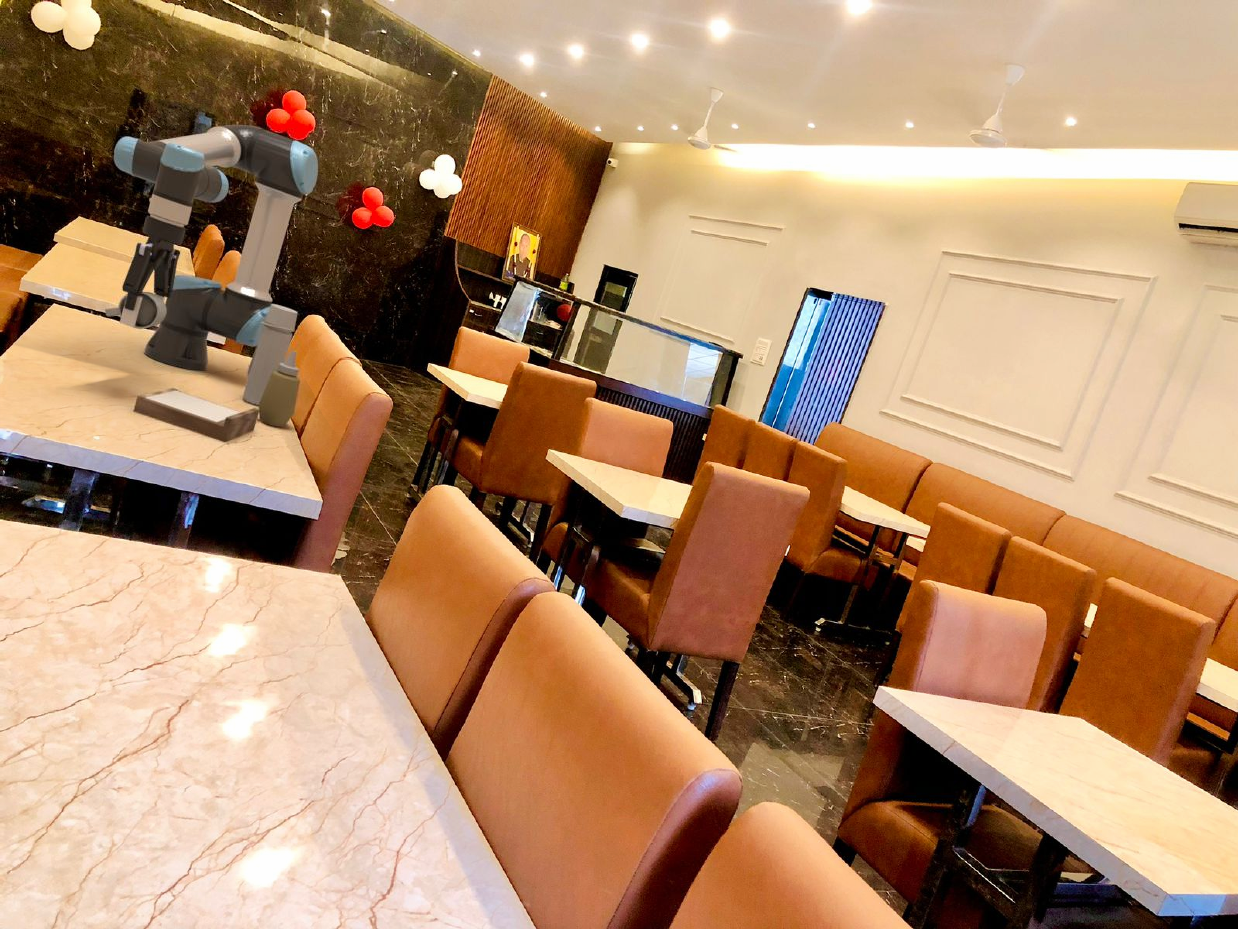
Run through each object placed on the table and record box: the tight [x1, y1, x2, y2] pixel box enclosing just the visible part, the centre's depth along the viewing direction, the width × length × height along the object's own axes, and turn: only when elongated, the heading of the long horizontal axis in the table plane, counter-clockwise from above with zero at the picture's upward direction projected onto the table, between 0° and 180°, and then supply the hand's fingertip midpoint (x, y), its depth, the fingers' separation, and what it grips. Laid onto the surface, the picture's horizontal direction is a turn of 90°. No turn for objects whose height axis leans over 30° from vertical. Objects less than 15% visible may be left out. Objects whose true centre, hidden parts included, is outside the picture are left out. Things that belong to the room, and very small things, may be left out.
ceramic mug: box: [104, 291, 167, 330], centre depth 184 cm, size 11×8×8 cm
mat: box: [145, 390, 241, 423], centre depth 187 cm, size 14×15×1 cm
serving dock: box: [133, 387, 260, 443], centre depth 188 cm, size 16×19×5 cm
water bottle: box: [242, 303, 298, 406], centre depth 220 cm, size 9×8×25 cm
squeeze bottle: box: [258, 350, 301, 428], centre depth 207 cm, size 8×8×18 cm
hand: (138, 324), depth 185 cm, fingers closed on ceramic mug, 9 cm apart
